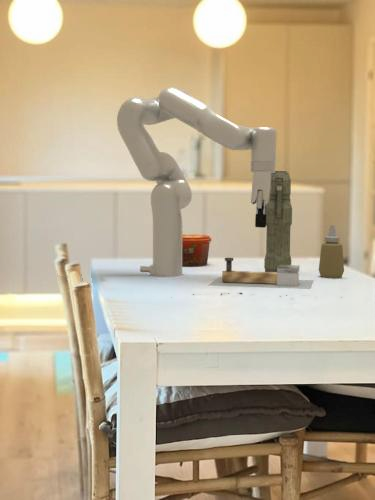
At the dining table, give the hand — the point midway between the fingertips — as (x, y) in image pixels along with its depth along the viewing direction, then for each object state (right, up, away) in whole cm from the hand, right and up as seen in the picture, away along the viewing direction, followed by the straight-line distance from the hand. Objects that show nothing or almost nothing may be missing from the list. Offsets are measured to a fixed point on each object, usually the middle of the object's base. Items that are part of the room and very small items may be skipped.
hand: (260, 227), depth 270 cm
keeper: (+8, -17, -8) cm, 21 cm away
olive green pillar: (+8, -16, +23) cm, 29 cm away
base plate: (0, -19, -5) cm, 19 cm away
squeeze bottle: (+23, -17, +10) cm, 31 cm away
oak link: (-1, -17, -7) cm, 18 cm away
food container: (-22, -13, +54) cm, 60 cm away
